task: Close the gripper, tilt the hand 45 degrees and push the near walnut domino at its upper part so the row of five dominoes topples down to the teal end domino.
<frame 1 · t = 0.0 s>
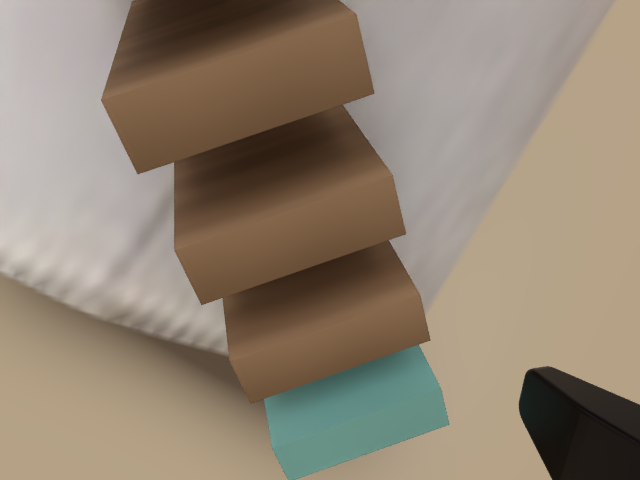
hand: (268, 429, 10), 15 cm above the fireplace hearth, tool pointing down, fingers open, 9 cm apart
domino 5: (302, 252, 26), on the fireplace hearth
domino 4: (277, 182, 24), on the fireplace hearth
domino 3: (248, 100, 22), on the fireplace hearth
domino 2: (214, 2, 20), on the fireplace hearth
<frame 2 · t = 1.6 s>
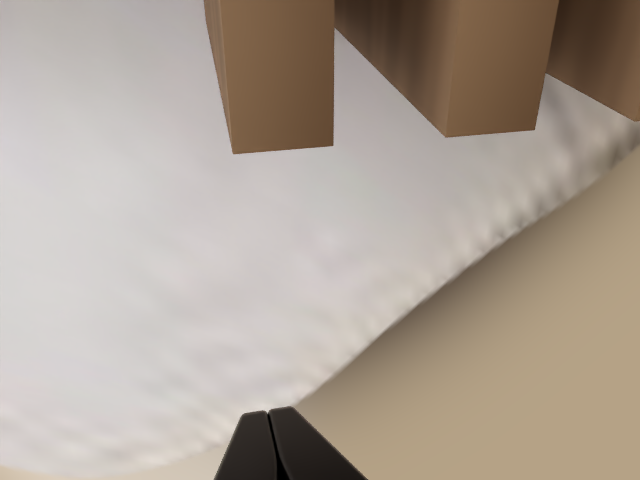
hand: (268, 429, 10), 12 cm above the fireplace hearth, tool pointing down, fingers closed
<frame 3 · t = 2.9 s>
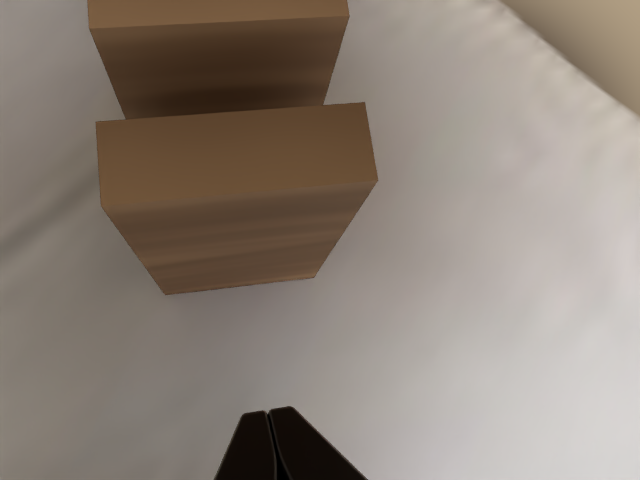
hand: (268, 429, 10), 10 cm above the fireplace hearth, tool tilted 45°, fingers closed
domino 1: (238, 263, 21), on the fireplace hearth
domino 2: (227, 166, 22), on the fireplace hearth
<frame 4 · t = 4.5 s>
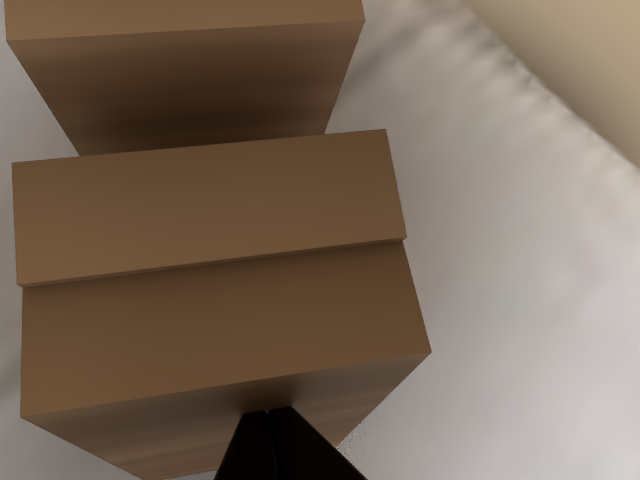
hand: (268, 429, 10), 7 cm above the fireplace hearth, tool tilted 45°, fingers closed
domino 3: (210, 194, 18), on the fireplace hearth
domino 1: (239, 434, 17), on the fireplace hearth, tilted 12°, touching gripper
domino 2: (224, 309, 18), on the fireplace hearth
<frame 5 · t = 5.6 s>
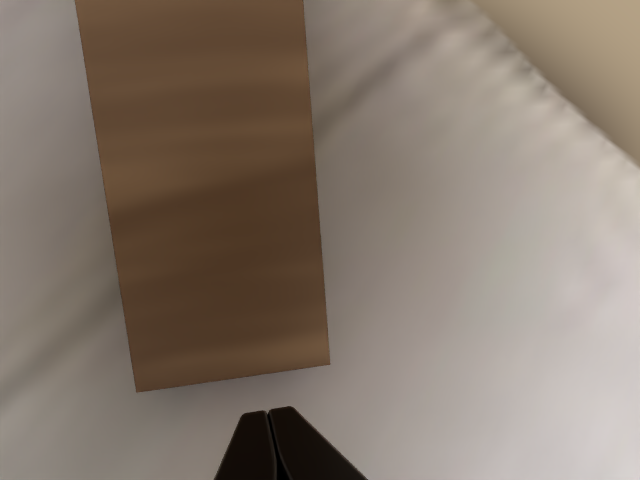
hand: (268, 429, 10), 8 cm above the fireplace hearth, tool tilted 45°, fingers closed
domino 1: (234, 365, 17), point 1 cm above the fireplace hearth, tilted 63°, touching domino 2
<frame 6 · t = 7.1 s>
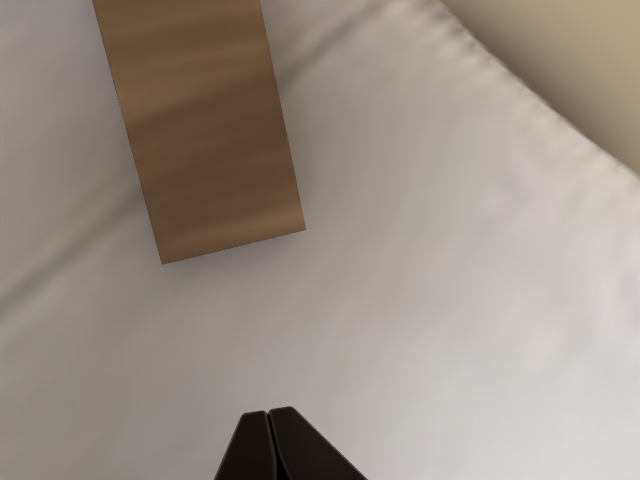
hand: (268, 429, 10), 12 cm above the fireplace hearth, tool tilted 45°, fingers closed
domino 1: (233, 242, 22), point 1 cm above the fireplace hearth, tilted 64°, touching domino 2
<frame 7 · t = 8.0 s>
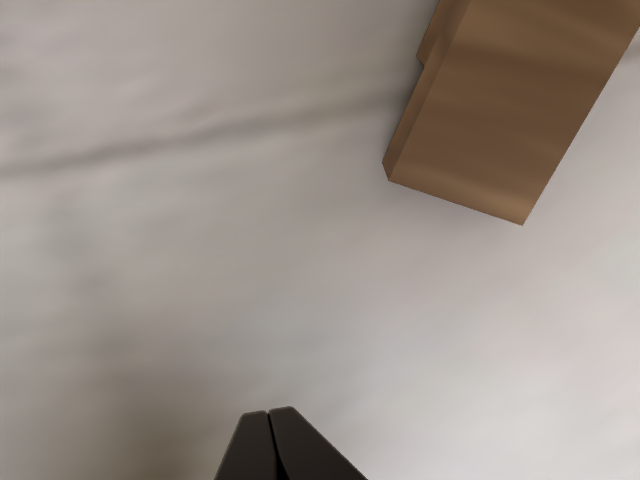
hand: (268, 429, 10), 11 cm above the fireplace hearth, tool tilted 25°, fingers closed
domino 1: (451, 193, 21), point 1 cm above the fireplace hearth, tilted 65°, touching domino 2
domino 2: (486, 86, 21), point 1 cm above the fireplace hearth, tilted 65°, touching domino 1, domino 3
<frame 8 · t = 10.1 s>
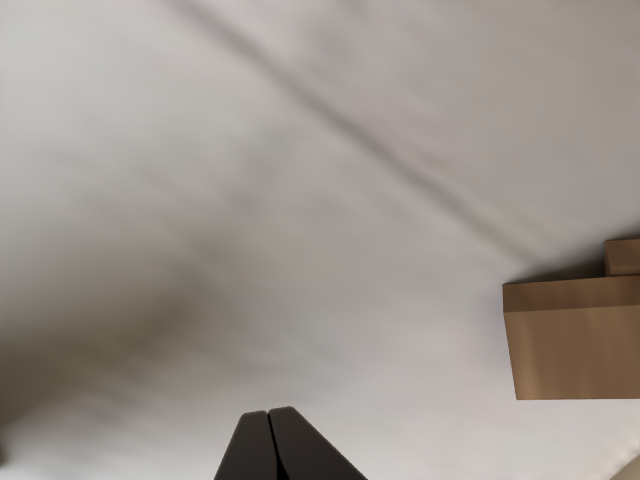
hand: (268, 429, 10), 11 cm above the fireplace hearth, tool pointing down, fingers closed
domino 1: (509, 344, 25), point 1 cm above the fireplace hearth, tilted 66°, touching domino 2
domino 2: (607, 302, 25), point 1 cm above the fireplace hearth, tilted 64°, touching domino 1, domino 3
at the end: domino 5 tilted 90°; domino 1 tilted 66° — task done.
